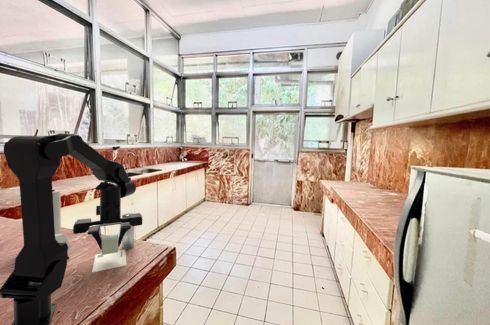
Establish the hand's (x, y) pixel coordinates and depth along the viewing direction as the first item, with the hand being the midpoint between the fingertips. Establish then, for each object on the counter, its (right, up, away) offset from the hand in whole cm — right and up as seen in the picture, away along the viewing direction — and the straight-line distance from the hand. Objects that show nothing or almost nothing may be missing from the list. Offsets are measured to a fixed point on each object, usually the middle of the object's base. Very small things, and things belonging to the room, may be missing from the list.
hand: (110, 247), depth 71 cm
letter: (0, -4, 0) cm, 4 cm away
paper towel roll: (-27, -3, +7) cm, 28 cm away
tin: (0, -4, +10) cm, 11 cm away
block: (0, -1, 0) cm, 1 cm away
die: (-20, -4, 0) cm, 20 cm away
